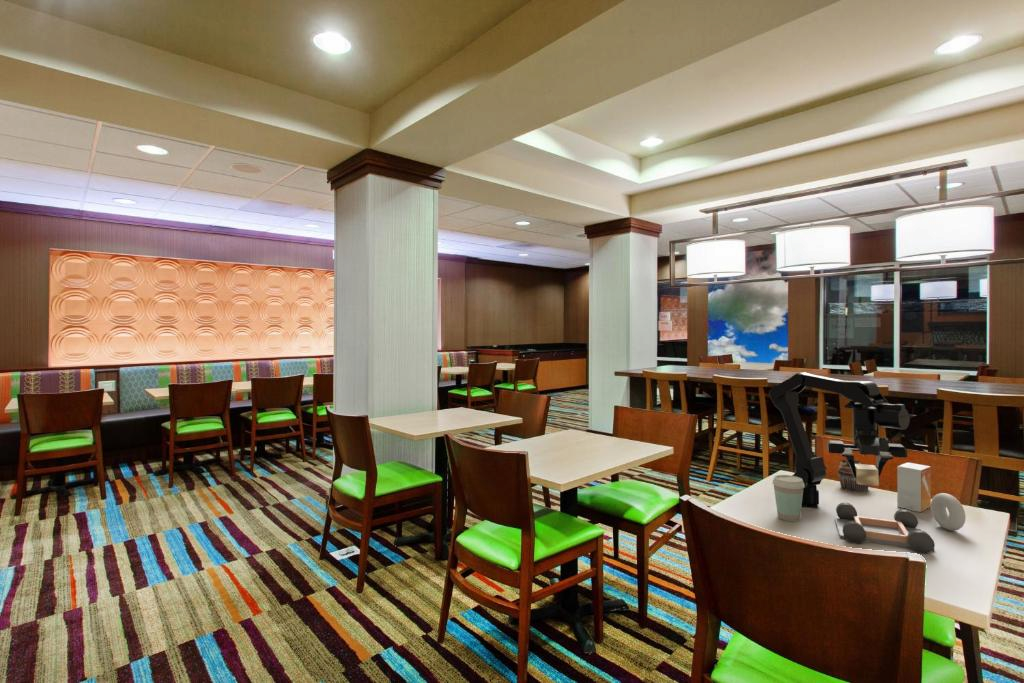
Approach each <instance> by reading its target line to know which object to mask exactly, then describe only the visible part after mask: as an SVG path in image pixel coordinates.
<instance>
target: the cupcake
mask: <svg viewBox="0 0 1024 683" xmlns="http://www.w3.org/2000/svg"><path fill="white" fill-rule="evenodd" d="M854 463H855V464H862V463H860V461H859V460H854ZM839 464H840V465H839V466H838V467H837V468H838V471H837V475H838V479H839V485H840V488H842V489H843V488H844V489H843V490H845V489H847V490H846V491H849V490H850V491H849V492H855V491H856V492H857V493H864V492H868V491H867V490H869V486H870V485H860V484H857V482H856V481H855V479H854V475H853V473H852V470H851V468H850V465H849V463H848V461H847V460H845V459H843V460H841V461H840V463H839Z"/></svg>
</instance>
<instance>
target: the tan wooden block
mask: <svg viewBox="0 0 1024 683" xmlns="http://www.w3.org/2000/svg"><path fill="white" fill-rule="evenodd" d="M855 469H856V478H855V477H854V479H855V481H856V482H857V484H860V485H869V486H874V487H879V486H880V483H879V481H880V480H879V478H880V477H879V476H878V469H877V468H876V465H874V464H863V463H861V464H855Z"/></svg>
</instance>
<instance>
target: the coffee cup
mask: <svg viewBox="0 0 1024 683" xmlns="http://www.w3.org/2000/svg"><path fill="white" fill-rule="evenodd" d="M772 485H773V490H774V499H775V505H776V506H775V507H776V512H777V513H776V514H777V517H778V518H779V519H780V518H781V519H780V520H782V519H783V521H786V520H787V522H798V520H799V521H800V520H801V513H802V507H803V506H802V498H803V489H804V487H805V486H804V483H803V480H802V479H801V478H799V477H796V476H792V475H790V474H777V475H774V477H773V479H772Z"/></svg>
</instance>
